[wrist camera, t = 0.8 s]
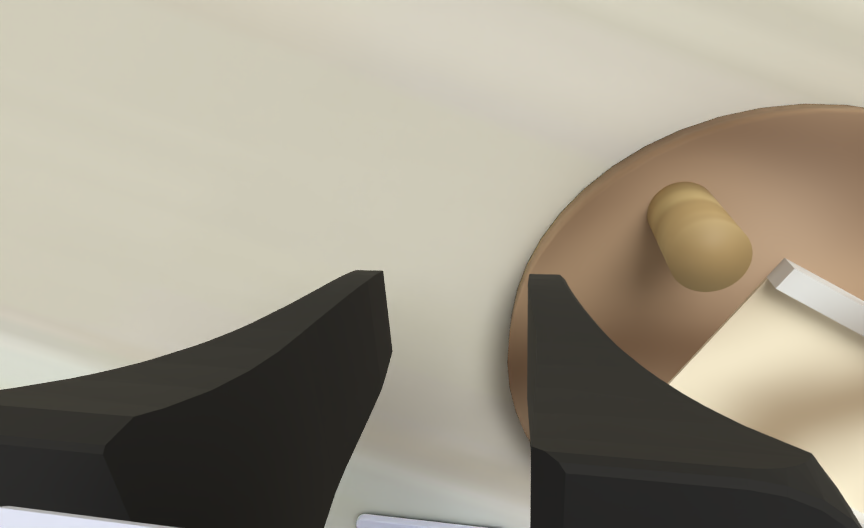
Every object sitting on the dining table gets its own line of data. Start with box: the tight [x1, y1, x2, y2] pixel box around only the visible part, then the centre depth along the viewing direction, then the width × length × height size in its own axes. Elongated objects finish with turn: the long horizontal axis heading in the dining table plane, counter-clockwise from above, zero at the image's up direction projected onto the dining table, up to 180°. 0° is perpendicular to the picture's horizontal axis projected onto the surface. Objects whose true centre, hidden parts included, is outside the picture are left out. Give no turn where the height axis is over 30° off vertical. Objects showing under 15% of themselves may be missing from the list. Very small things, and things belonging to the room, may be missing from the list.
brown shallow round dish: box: [507, 104, 864, 528], centre depth 18 cm, size 18×18×5 cm
